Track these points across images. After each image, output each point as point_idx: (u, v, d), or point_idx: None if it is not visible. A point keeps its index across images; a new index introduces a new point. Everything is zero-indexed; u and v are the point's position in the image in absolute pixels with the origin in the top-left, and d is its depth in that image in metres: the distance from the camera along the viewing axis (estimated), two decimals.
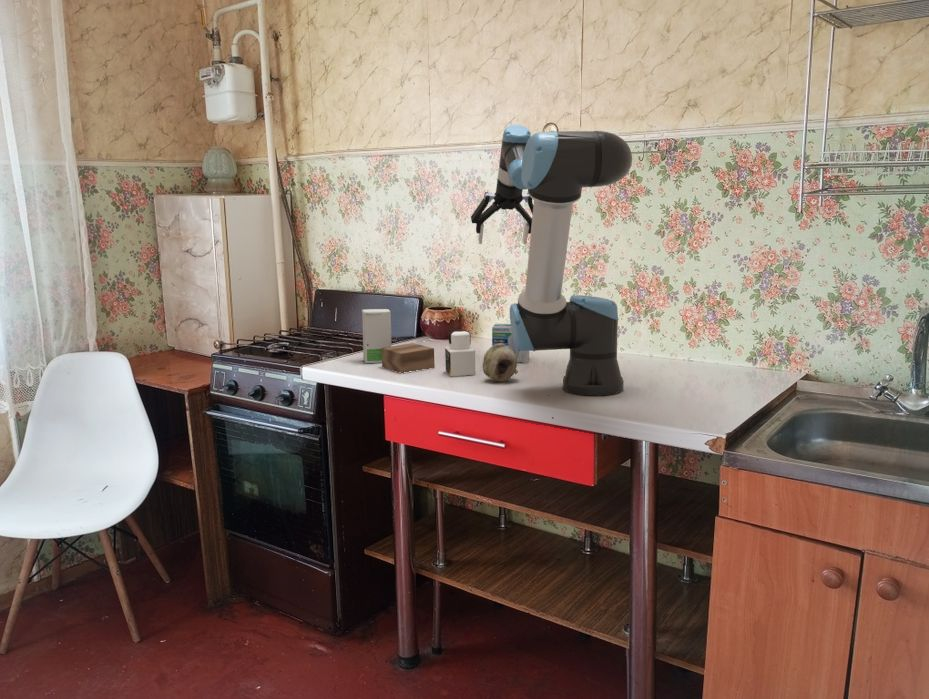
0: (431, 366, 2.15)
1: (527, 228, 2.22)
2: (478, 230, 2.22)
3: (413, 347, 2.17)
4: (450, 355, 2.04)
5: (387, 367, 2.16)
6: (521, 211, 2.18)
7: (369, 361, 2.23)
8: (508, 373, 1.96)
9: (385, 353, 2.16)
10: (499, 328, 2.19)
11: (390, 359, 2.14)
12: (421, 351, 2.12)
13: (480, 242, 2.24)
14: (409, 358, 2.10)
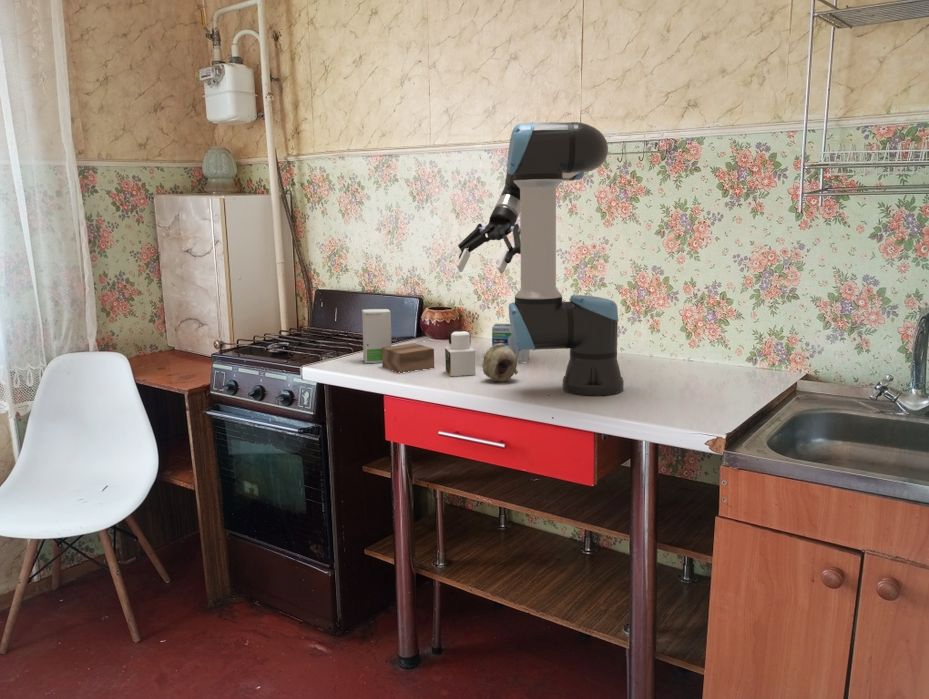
0: (430, 366, 2.15)
1: (505, 252, 2.10)
2: None
3: (413, 347, 2.17)
4: (450, 355, 2.04)
5: (387, 367, 2.16)
6: (504, 236, 2.14)
7: (369, 361, 2.23)
8: (508, 373, 1.96)
9: (385, 353, 2.16)
10: (499, 328, 2.19)
11: (390, 358, 2.14)
12: (420, 351, 2.12)
13: (457, 264, 2.15)
14: (409, 358, 2.10)
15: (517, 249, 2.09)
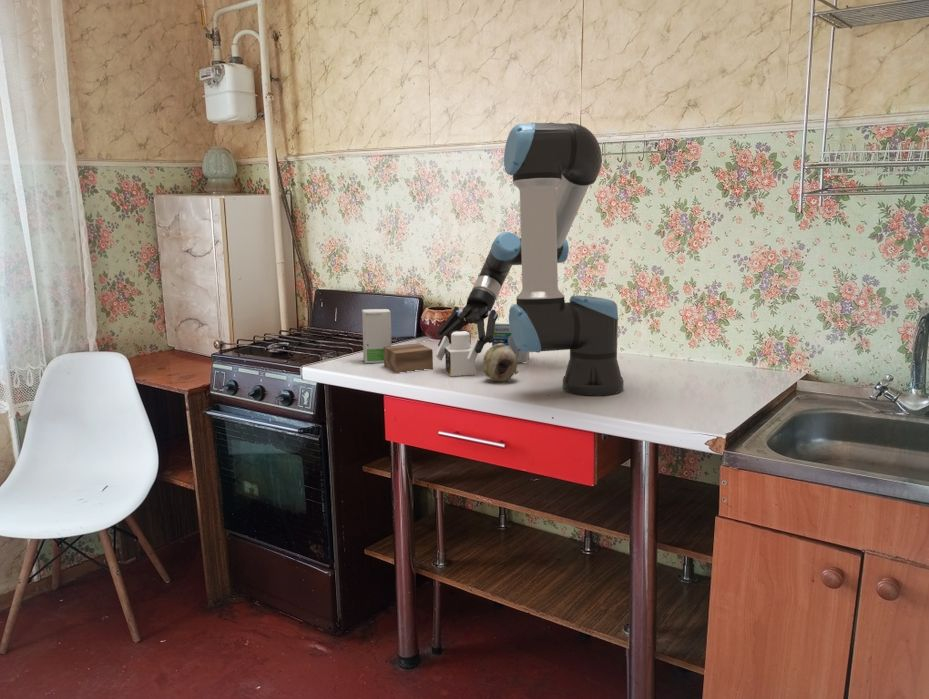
0: (428, 367, 2.14)
1: (475, 341, 2.04)
2: (440, 343, 2.10)
3: (413, 347, 2.17)
4: (450, 355, 2.04)
5: (387, 366, 2.17)
6: (479, 322, 2.08)
7: (369, 361, 2.23)
8: (508, 373, 1.96)
9: (386, 352, 2.17)
10: (499, 328, 2.19)
11: (389, 358, 2.15)
12: (418, 352, 2.12)
13: (436, 353, 2.07)
14: (405, 358, 2.10)
15: (488, 339, 2.04)
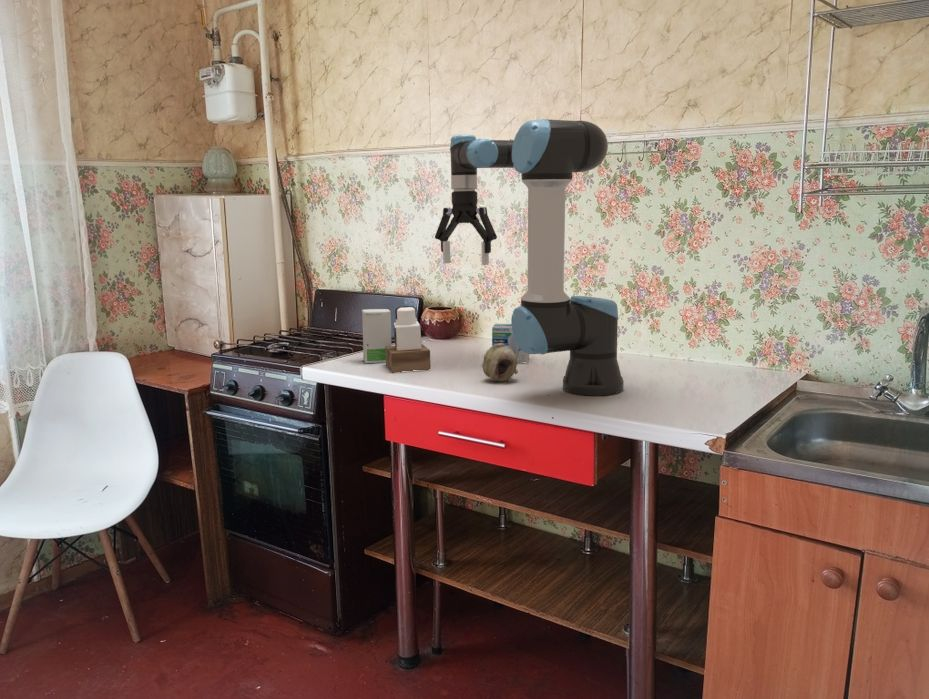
0: (426, 367, 2.13)
1: (482, 245, 2.16)
2: (442, 248, 2.24)
3: None
4: (396, 330, 2.11)
5: (387, 365, 2.18)
6: (474, 224, 2.16)
7: (369, 361, 2.23)
8: (508, 373, 1.96)
9: (386, 352, 2.18)
10: (499, 328, 2.19)
11: (388, 357, 2.16)
12: (415, 352, 2.11)
13: (444, 261, 2.24)
14: (401, 358, 2.11)
15: (492, 239, 2.14)
